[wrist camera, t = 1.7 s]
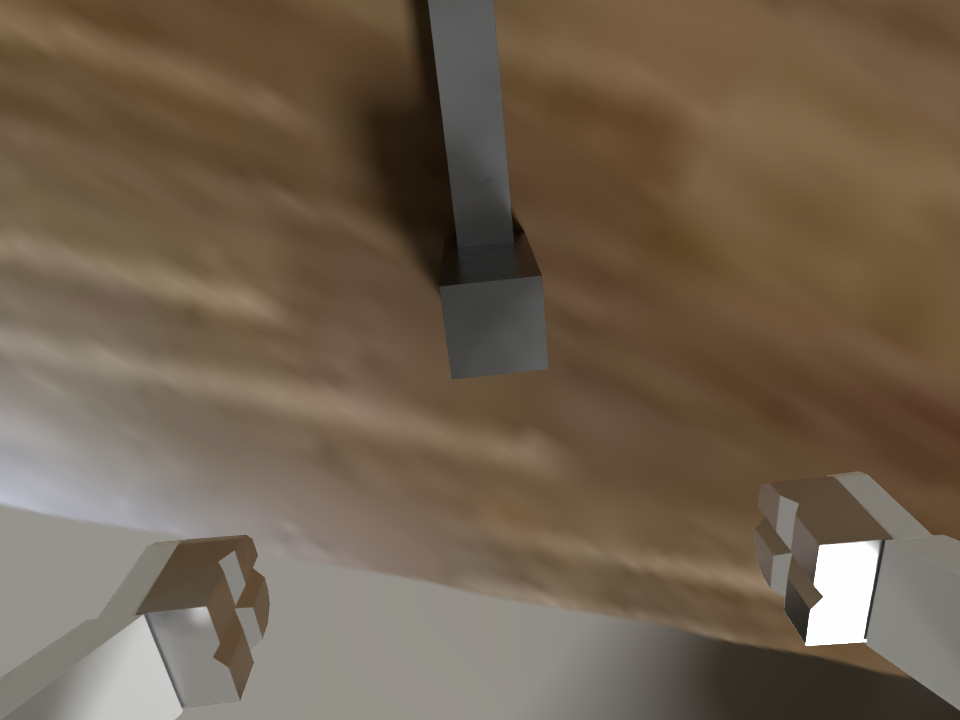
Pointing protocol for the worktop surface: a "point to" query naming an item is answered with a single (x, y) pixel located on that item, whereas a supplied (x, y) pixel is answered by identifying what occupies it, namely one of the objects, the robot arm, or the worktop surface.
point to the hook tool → (482, 207)
